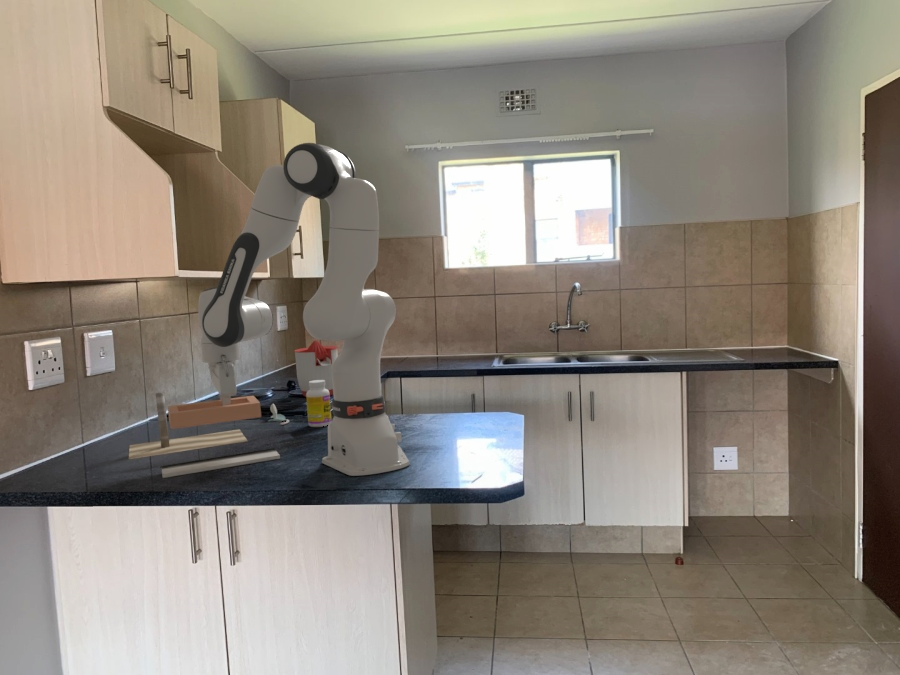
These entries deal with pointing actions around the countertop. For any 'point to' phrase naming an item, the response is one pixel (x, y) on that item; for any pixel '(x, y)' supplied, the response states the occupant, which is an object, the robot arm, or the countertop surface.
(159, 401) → the stand
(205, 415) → the link
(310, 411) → the supplement bottle
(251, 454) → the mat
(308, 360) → the citrus juicer
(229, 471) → the countertop surface
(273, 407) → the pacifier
